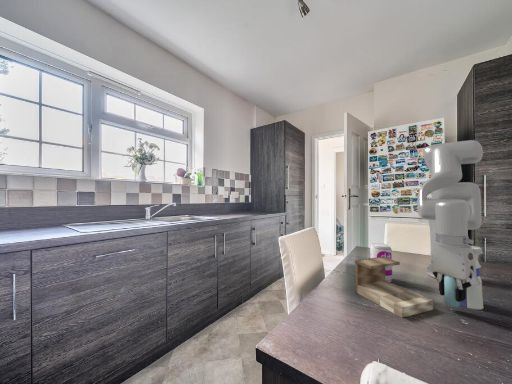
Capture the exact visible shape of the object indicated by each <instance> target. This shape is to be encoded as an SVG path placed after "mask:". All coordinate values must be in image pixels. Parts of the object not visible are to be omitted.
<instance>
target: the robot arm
mask: <svg viewBox="0 0 512 384" xmlns="http://www.w3.org/2000/svg"><path fill="white" fill-rule="evenodd" d="M422 153H423V155H422V156H423V160H424V163H425V165H426V167H427V168H428V172H429V173H430V178H428V179H427V180H426V181H425V182H424V183H422V185H421V186H420V188H419V189H418V192H417V205H416V206H417V207H416V208H417V214H418V216H419V218H421V219H423V220H426V221H427V220H428V224H429V225H428V226H429V234H430V236H429V237H430V238H429V239H430V243H429V244H430V264H429V265H428V266H427V270H426V274H427V275H428V276H429V277H432V278H434V279H436V281H437V282H438V291H439V295H441V296H444V275H448V276H451V277H454V278H456V281H457V286H458V288H456V289H455V292H456V301H457V302H461V301H464V300H465V299H466V288H468V287H470V286H476V285H480V284H481V282H480V281H479V279H478V278H477V276H476V263H475V257H474V253H473V250H472V247H471V246H472V245H474V239H470V238H469V234H468V231H469V230H470V231H471V230H478V229H480V228H481V226H482V219H483V218H482V195H481V190H480V187H479V185H478V184H477V183H475V182H469V181H467V182H464V181H463V182H460V181H462V179H463V172H462V165H469V164H477V163H479V162H481V160H482V158H483V156H484V155H483V154H484V151H483V147H482V144H481V143H480V142H479V141H477V140H475V139H473V140H472V139H470V140H461V141H453V142H444V143H436V144H431V145H428V146H426V147H424V148H423V152H422ZM429 195H431V196H430V197H431V198H427V197H428V196H429ZM468 245H470V246H468ZM469 278H470V279H471V281H469V282H467V280H468V279H469Z"/></svg>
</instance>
